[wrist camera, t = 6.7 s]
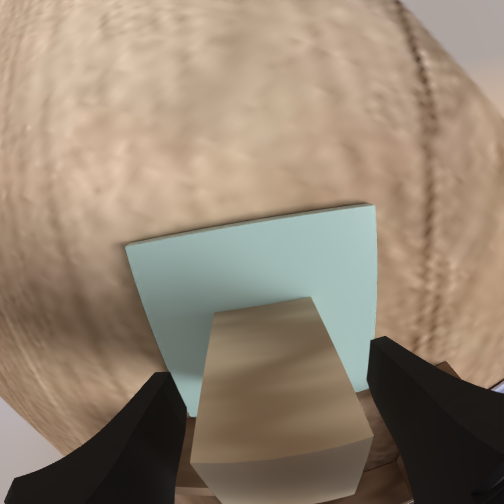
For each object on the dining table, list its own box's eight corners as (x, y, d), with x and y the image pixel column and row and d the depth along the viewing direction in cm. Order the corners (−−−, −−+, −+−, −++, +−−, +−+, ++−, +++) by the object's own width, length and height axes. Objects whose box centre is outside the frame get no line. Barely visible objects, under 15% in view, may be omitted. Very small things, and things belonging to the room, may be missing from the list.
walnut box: (446, 360, 14) (487, 410, 9) (404, 461, 18) (420, 499, 13) (161, 417, 14) (144, 485, 9) (219, 498, 19) (217, 540, 14)
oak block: (310, 296, 11) (374, 436, 5) (315, 368, 12) (354, 494, 6) (214, 312, 11) (190, 463, 5) (233, 381, 13) (230, 512, 6)
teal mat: (368, 203, 11) (374, 205, 10) (365, 382, 14) (368, 389, 13) (130, 242, 11) (124, 246, 10) (191, 409, 14) (190, 417, 13)
